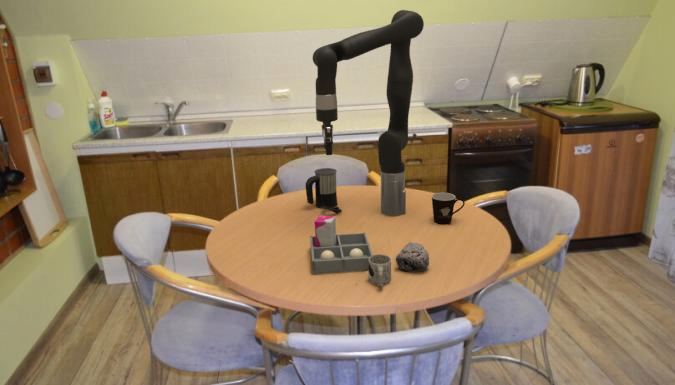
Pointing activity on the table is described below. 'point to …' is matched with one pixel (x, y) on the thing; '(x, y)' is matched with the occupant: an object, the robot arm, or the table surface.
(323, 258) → the egg front right
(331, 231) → the supplement box
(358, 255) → the egg front left
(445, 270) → the table surface
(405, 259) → the pumice stone
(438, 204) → the coffee mug
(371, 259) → the mug
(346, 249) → the grey divided tray
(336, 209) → the milk frother
